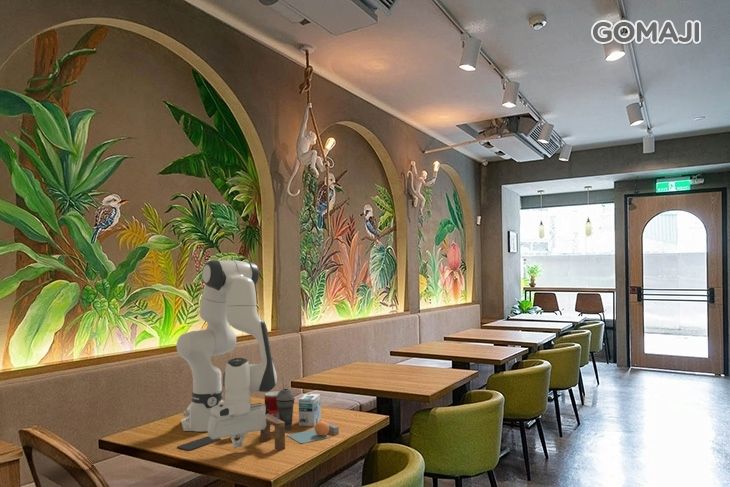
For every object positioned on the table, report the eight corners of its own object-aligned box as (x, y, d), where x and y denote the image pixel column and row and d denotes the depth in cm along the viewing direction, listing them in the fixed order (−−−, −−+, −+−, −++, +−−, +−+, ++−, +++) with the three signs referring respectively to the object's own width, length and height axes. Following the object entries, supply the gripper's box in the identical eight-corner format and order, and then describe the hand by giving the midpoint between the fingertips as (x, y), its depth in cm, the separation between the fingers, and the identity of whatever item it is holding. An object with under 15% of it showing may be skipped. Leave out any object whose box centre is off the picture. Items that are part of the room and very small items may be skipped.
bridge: (277, 450, 184) (277, 423, 184) (260, 440, 196) (260, 415, 196) (285, 448, 186) (284, 422, 186) (268, 438, 197) (267, 413, 198)
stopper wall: (323, 429, 207) (323, 423, 207) (328, 428, 208) (328, 422, 208) (334, 434, 201) (334, 428, 201) (338, 433, 202) (338, 427, 202)
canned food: (287, 418, 224) (287, 392, 224) (274, 423, 217) (274, 396, 218) (273, 416, 228) (273, 390, 228) (260, 420, 221) (260, 394, 222)
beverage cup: (291, 432, 205) (290, 379, 206) (273, 431, 206) (273, 379, 207) (297, 426, 212) (297, 376, 213) (280, 425, 213) (279, 375, 214)
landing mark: (286, 435, 200) (286, 435, 200) (314, 429, 207) (314, 429, 207) (301, 443, 190) (301, 443, 190) (330, 437, 197) (330, 437, 197)
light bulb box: (314, 426, 212) (314, 399, 212) (298, 426, 213) (298, 399, 213) (321, 419, 222) (321, 393, 223) (305, 418, 223) (305, 393, 224)
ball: (310, 433, 200) (313, 419, 200) (322, 433, 203) (325, 419, 204) (318, 438, 196) (321, 423, 196) (330, 438, 199) (333, 423, 199)
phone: (222, 438, 197) (189, 450, 184) (222, 441, 197) (189, 452, 184) (208, 435, 201) (175, 446, 188) (208, 437, 201) (175, 449, 188)
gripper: (261, 400, 193) (262, 438, 192) (206, 409, 181) (206, 450, 180) (269, 403, 187) (269, 443, 187) (212, 413, 176) (212, 455, 175)
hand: (237, 446), depth 183 cm, fingers closed
